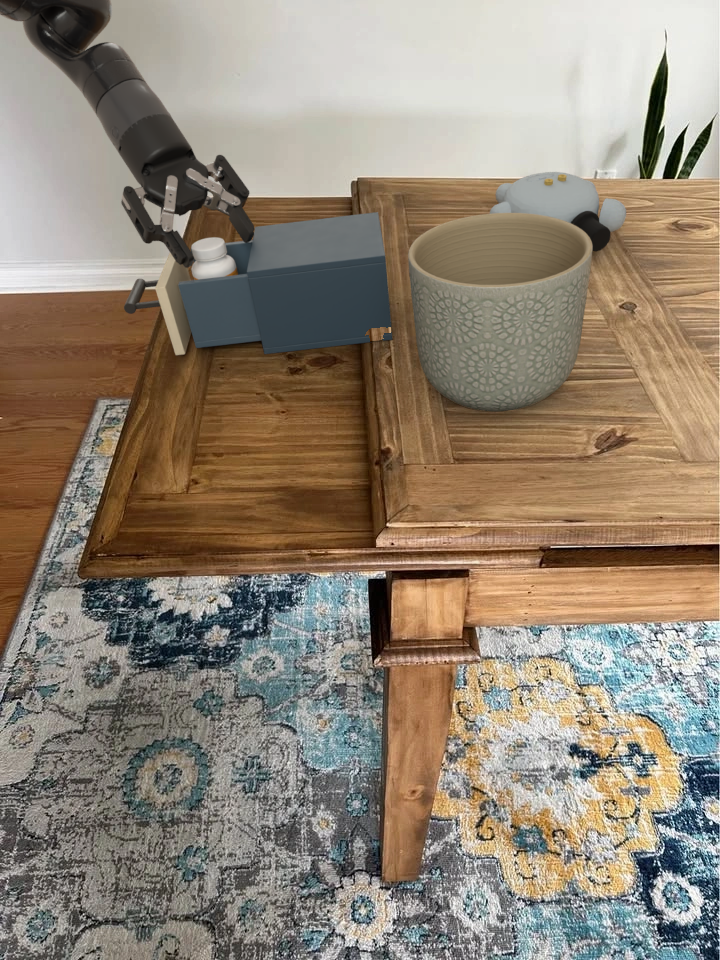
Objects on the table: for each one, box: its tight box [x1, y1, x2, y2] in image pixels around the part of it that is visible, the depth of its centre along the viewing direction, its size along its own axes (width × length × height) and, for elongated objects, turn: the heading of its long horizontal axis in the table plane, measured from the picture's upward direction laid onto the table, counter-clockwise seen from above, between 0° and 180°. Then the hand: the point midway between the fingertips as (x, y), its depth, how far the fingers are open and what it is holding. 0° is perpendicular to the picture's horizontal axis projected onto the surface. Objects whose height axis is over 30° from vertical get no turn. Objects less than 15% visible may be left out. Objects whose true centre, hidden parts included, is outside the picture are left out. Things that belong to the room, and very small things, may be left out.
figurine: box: [489, 171, 627, 252], centre depth 103 cm, size 17×8×20 cm
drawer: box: [123, 239, 262, 356], centre depth 90 cm, size 20×12×9 cm, turn 92°
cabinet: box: [247, 211, 393, 355], centre depth 90 cm, size 16×14×11 cm
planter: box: [407, 213, 593, 413], centre depth 73 cm, size 17×17×15 cm
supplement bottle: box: [190, 236, 238, 280], centre depth 89 cm, size 5×5×10 cm
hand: (220, 251), depth 86 cm, fingers open, 8 cm apart
